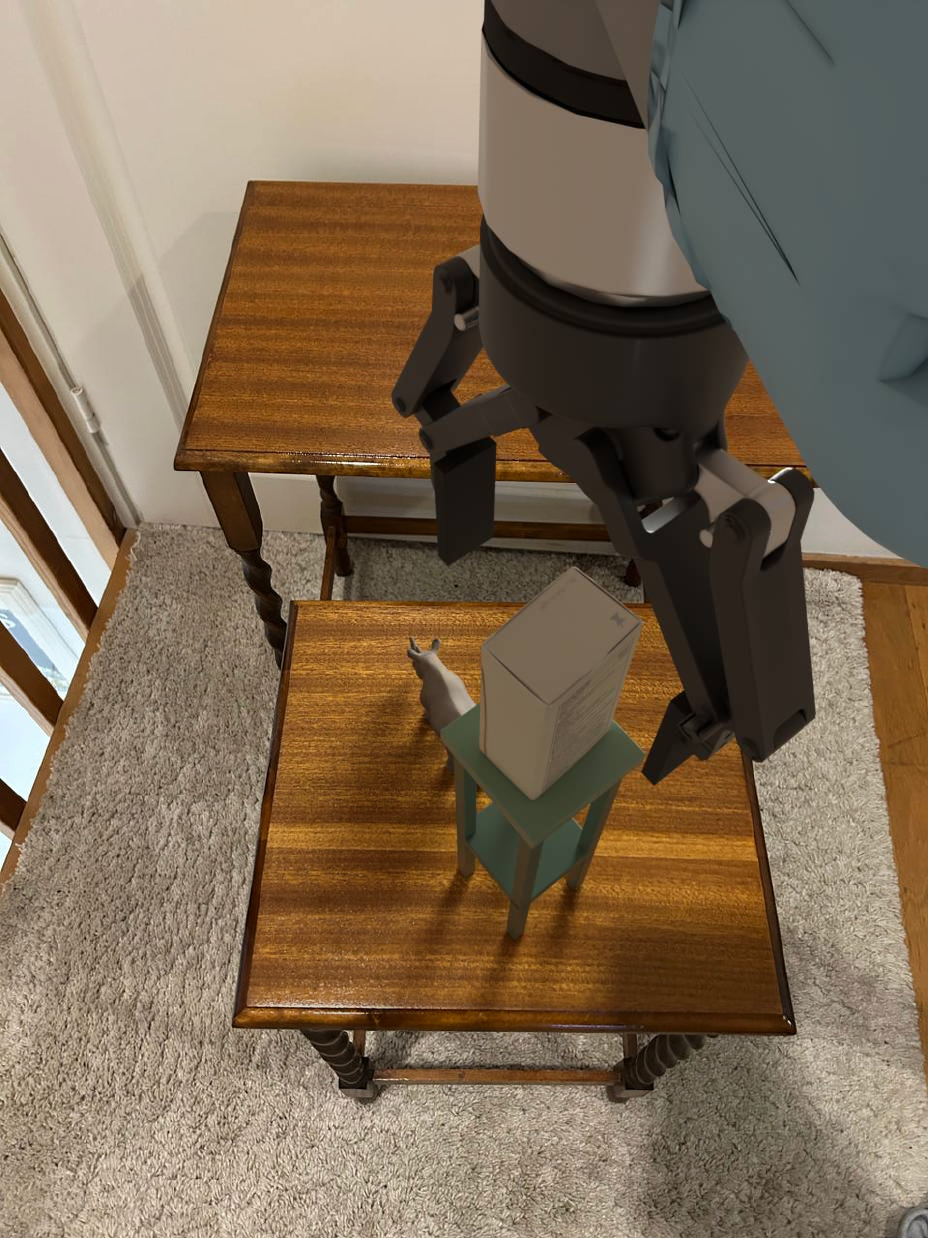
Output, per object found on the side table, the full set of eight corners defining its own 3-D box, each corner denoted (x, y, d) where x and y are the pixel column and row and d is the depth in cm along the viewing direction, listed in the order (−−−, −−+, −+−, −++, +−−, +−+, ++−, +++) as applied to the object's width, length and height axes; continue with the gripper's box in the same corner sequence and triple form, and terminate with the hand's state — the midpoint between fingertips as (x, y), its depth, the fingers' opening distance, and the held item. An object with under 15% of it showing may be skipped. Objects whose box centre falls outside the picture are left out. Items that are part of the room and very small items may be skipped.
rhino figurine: (435, 643, 84) (433, 608, 79) (502, 774, 78) (504, 745, 73) (393, 660, 83) (388, 626, 78) (457, 794, 77) (456, 766, 72)
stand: (583, 883, 73) (631, 756, 51) (514, 940, 71) (533, 833, 49) (525, 815, 76) (548, 667, 54) (457, 868, 74) (452, 736, 52)
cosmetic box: (554, 681, 53) (575, 558, 43) (613, 733, 51) (649, 618, 41) (474, 752, 51) (475, 641, 40) (532, 809, 49) (550, 708, 39)
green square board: (642, 762, 52) (646, 753, 51) (532, 850, 49) (533, 843, 48) (548, 662, 55) (550, 652, 54) (440, 739, 52) (439, 730, 51)
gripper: (1198, 444, 19) (841, 810, 37) (445, -31, 29) (455, 437, 47) (968, 644, 16) (707, 931, 35) (237, 49, 27) (331, 510, 45)
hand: (561, 646), depth 41 cm, fingers open, 13 cm apart
